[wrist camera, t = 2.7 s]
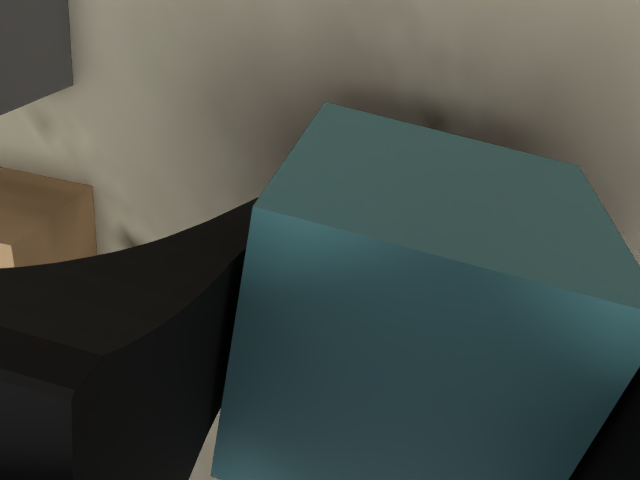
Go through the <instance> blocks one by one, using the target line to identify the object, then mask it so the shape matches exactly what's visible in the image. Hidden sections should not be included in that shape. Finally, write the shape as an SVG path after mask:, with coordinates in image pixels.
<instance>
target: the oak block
mask: <svg viewBox="0 0 640 480" xmlns="http://www.w3.org/2000/svg"><path fill="white" fill-rule="evenodd" d="M96 255H97V245H96V231H95V216H94V202H93V187H92V186H89V185H84V184H79V183H74V182H70V181H65V180H60V179H55V178H50V177H45V176H41V175H36V174H31V173H26V172H21V171H17V170H12V169H7V168H2V167H0V268H11V267H23V266H32V265H41V264H49V263H57V262H63V261H69V260H74V259H80V258H85V257H91V256H96Z"/></svg>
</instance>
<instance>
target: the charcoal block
mask: <svg viewBox="0 0 640 480" xmlns="http://www.w3.org/2000/svg"><path fill="white" fill-rule="evenodd" d="M72 85H73V72H72V57H71V41H70V26H69V10H68V0H0V115H2V114H5V113H7V112H9V111H12V110H14V109H17V108H19V107H21V106H24V105H26V104H29V103H31V102H33V101H36V100H38V99H41V98H43V97H45V96H48V95H50V94H53V93H55V92H57V91H60V90H62V89H65V88H67V87H69V86H72Z"/></svg>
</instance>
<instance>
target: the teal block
mask: <svg viewBox="0 0 640 480" xmlns="http://www.w3.org/2000/svg"><path fill="white" fill-rule="evenodd" d="M639 367H640V266H639V265H638V263H637V261H636V260H635V258H634V256H633V255H632V253H631V251H630V250H629V248H628V246H627V245H626V243H625V242H624V240H623V238H622V237H621V235H620V233H619V232H618V230H617V228H616V227H615V225H614V223H613V222H612V220H611V218H610V217H609V215H608V213H607V212H606V210H605V208H604V207H603V205H602V203H601V202H600V200H599V198H598V197H597V195H596V193H595V192H594V190H593V189H592V187H591V185H590V184H589V182H588V180H587V179H586V177H585V175H584V174H583V172H582V170H581V169H580V167H579V166H577V165H573V164H569V163H565V162H561V161H557V160H553V159H549V158H546V157H542V156H538V155H534V154H530V153H526V152H522V151H518V150H514V149H510V148H506V147H502V146H498V145H494V144H490V143H486V142H482V141H478V140H474V139H470V138H466V137H462V136H458V135H454V134H450V133H446V132H442V131H439V130H435V129H431V128H427V127H423V126H419V125H415V124H411V123H407V122H403V121H399V120H395V119H391V118H387V117H383V116H379V115H375V114H371V113H367V112H363V111H359V110H355V109H351V108H347V107H343V106H339V105H335V104H331V103H328V102H325V103H324V104H323V106H322V107H321V109H320V110H319V112H318V113H317V114H316V116H315V117H314V119H313V120H312V122H311V123H310V125H309V126H308V127H307V129H306V130H305V132H304V133H303V135H302V136H301V138H300V139H299V140H298V142H297V143H296V145H295V146H294V148H293V149H292V151H291V152H290V153H289V155H288V156H287V158H286V159H285V161H284V162H283V163H282V165H281V166H280V168H279V169H278V171H277V172H276V174H275V175H274V176H273V178H272V179H271V181H270V182H269V184H268V185H267V187H266V188H265V189H264V191H263V192H262V194H261V195H260V197H259V198H258V200H257V201H256V202H255V204H254V205H253V209H252V215H251V221H250V228H249V234H248V240H247V247H246V253H245V259H244V266H243V272H242V278H241V285H240V291H239V298H238V304H237V310H236V317H235V323H234V329H233V336H232V342H231V348H230V355H229V361H228V367H227V374H226V380H225V387H224V393H223V399H222V406H221V412H220V418H219V425H218V431H217V437H216V444H215V450H214V456H213V463H212V469H211V477H215V478H218V479H221V480H568V479H569V478H570V476H571V475H572V473H573V471H574V470H575V468H576V467H577V465H578V463H579V462H580V460H581V459H582V457H583V456H584V454H585V452H586V451H587V449H588V448H589V446H590V444H591V443H592V441H593V440H594V438H595V436H596V435H597V433H598V432H599V430H600V429H601V427H602V425H603V424H604V422H605V421H606V419H607V417H608V416H609V414H610V413H611V411H612V409H613V408H614V406H615V405H616V403H617V402H618V400H619V398H620V397H621V395H622V394H623V392H624V390H625V389H626V387H627V386H628V384H629V383H630V381H631V379H632V378H633V376H634V375H635V373H636V371H637V370H638V368H639Z"/></svg>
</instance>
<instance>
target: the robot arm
mask: <svg viewBox="0 0 640 480" xmlns="http://www.w3.org/2000/svg"><path fill="white" fill-rule="evenodd" d="M258 198H259V197H258ZM258 198H256V199H254V200H251V201H249V202H247V203H245V204H243V205H241V206H239V207H237V208H235V209H233V210H231V211H229V212H226V213H224V214H222V215H220V216H218V217H216V218H213V219H211V220H209V221H207V222H204V223H202V224H199V225H197V226H194V227H192V228H189V229H186V230H184V231H181V232H179V233H176V234H174V235H171V236H168V237H166V238H163V239H160V240H156V241H153V242H150V243H147V244H143V245H139V246H136V247H132V248H128V249H124V250H121V251H116V252H112V253H107V254H102V255H96V256H91V257H85V258H80V259H74V260H69V261H63V262H57V263H49V264H41V265H32V266H23V267H11V268H0V480H189V477H190V475H191V473H192V470H193V468H194V465H195V463H196V460H197V458H198V456H199V453H200V451H201V448H202V446H203V444H204V441H205V439H206V436H207V434H208V432H209V430H210V428H211V426H212V424H213V422H214V420H215V418H216V416H217V414H218V412H219V410H220V408H221V406H222V399H223V393H224V387H225V380H226V374H227V367H228V361H229V355H230V348H231V342H232V336H233V329H234V323H235V317H236V310H237V304H238V298H239V291H240V285H241V278H242V272H243V266H244V259H245V253H246V247H247V240H248V234H249V228H250V221H251V215H252V209H253V205H254V204H255V202H256V201H257V200H258ZM568 480H640V367H639V368H638V370H637V371H636V373H635V375H634V376H633V378H632V379H631V381H630V383H629V384H628V386H627V387H626V389H625V390H624V392H623V394H622V395H621V397H620V398H619V400H618V402H617V403H616V405H615V406H614V408H613V409H612V411H611V413H610V414H609V416H608V417H607V419H606V421H605V422H604V424H603V425H602V427H601V429H600V430H599V432H598V433H597V435H596V436H595V438H594V440H593V441H592V443H591V444H590V446H589V448H588V449H587V451H586V452H585V454H584V456H583V457H582V459H581V460H580V462H579V463H578V465H577V467H576V468H575V470H574V471H573V473H572V475H571V476H570V478H569V479H568Z"/></svg>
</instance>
